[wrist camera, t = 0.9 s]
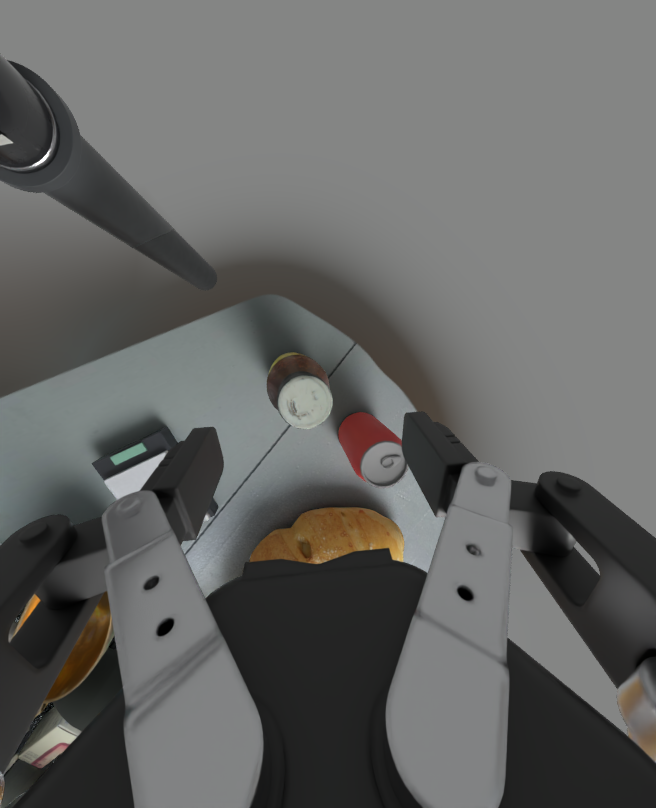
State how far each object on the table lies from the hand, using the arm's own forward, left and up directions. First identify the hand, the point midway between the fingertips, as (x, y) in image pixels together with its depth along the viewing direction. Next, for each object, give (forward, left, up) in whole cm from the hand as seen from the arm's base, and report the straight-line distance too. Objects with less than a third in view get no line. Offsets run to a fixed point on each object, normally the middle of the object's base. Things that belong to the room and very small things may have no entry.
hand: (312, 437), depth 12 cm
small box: (+34, -60, -25) cm, 74 cm away
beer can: (+12, +5, -28) cm, 31 cm away
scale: (+6, -24, -28) cm, 37 cm away
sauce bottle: (0, 0, -28) cm, 28 cm away
